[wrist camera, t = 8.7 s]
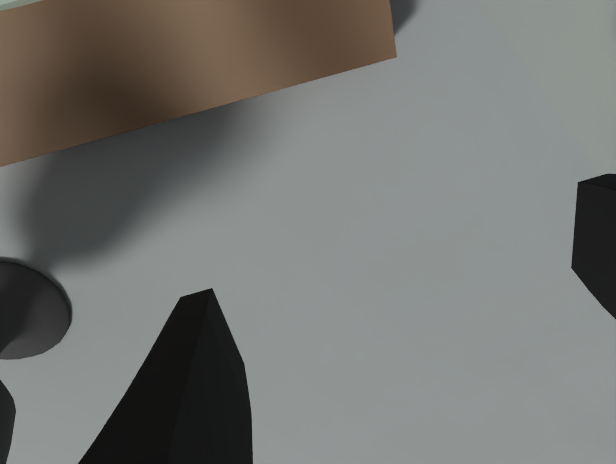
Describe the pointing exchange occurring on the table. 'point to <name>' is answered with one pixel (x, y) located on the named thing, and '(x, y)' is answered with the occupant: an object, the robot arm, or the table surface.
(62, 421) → the table surface
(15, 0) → the block
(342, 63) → the board
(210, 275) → the table surface
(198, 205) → the table surface
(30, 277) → the sundae
